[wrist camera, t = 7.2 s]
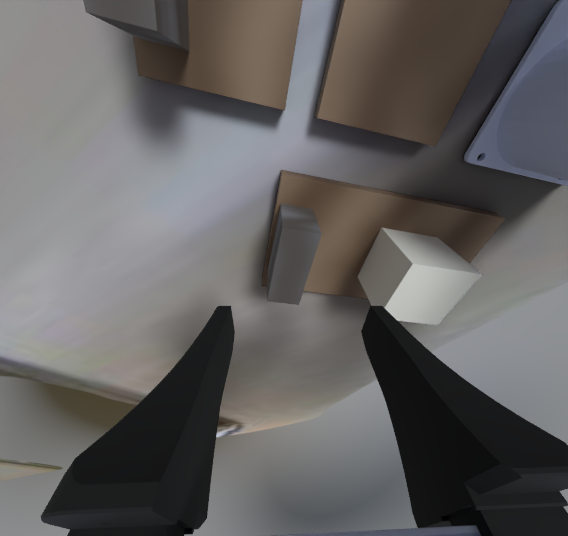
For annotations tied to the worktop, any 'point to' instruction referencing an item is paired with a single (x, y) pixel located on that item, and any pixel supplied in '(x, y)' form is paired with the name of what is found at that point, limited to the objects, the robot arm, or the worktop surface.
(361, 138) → the worktop surface
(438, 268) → the ceramic block
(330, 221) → the walnut strip
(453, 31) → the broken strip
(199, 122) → the worktop surface
